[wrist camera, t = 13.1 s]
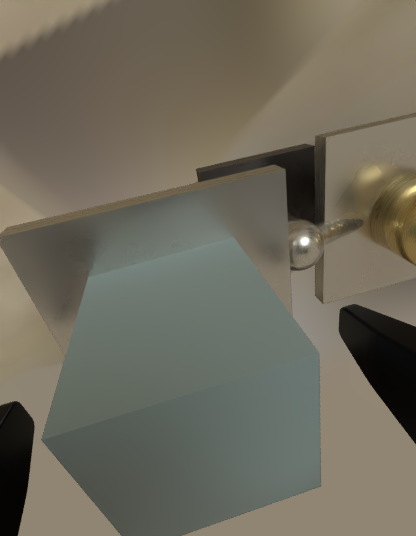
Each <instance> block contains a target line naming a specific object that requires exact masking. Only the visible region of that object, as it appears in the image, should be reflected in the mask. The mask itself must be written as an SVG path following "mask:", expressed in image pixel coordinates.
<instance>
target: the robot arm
mask: <svg viewBox="0 0 416 536" xmlns="http://www.w3.org/2000/svg"><path fill="white" fill-rule="evenodd" d="M339 333H340V335H341V338H342V339H343V341H344V343H345V344H346V346H347V347H348V349H349V351H350V352H351V354H352V356H353V357H354V359H355V360H356V362H357V364H358V365H359V367H360V369H361V370H362V372H363V374H364V375H365V377H366V378H367V380H368V381H369V383H370V384H371V385H372V387H373V389H374V390H375V391H376V393H377V394H378V395H379V397H380V398H381V399H382V400H383V402H384V403H385V404H386V406H387V407H388V408H389V410H390V411H391V412H392V414H393V415H394V416H395V418H396V419H397V420H398V422H399V423H400V424H401V425H402V427H403V428H404V429H405V431H406V432H407V433H408V435H409V436H410V437H411V439H412V440H413V441H414V443H415V444H416V327H415V326H412V325H410V324H407V323H404V322H402V321H399V320H396V319H394V318H391V317H389V316H386V315H383V314H381V313H378V312H375V311H372V310H370V309H367V308H364V307H362V306H359V305H356V304H352V305H349V306H345V307H343V308H341V309H340V316H339ZM33 437H34V421H33V419H32V417H31V416H30V415H29V414H28V412H27V411H26V410H25V409H24V407H23V406H22V405H21V404H20V403H19V402H17V401H14V402H10V403H7V404H3V405H1V406H0V536H18V532H19V527H20V523H21V518H22V513H23V508H24V504H25V499H26V494H27V488H28V480H29V472H30V463H31V453H32V445H33Z"/></svg>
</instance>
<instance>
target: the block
mask: <svg viewBox="0 0 416 536" xmlns="http://www.w3.org/2000/svg"><path fill="white" fill-rule="evenodd" d="M319 369H320V368H319V352H318V350H317V349H316V348H315V346H314V345H313V344H312V342H311V341H310V340H309V338H308V337H307V336H306V334H305V333H304V332H303V330H302V329H301V328H300V326H299V325H298V323H297V322H296V321H295V320H294V318H293V317H292V315H291V314H290V313H289V311H288V310H287V309H286V307H285V306H284V304H283V303H282V302H281V300H280V299H279V298H278V296H277V295H276V294H275V292H274V291H273V290H272V288H271V287H270V286H269V284H268V283H267V281H266V280H265V279H264V277H263V276H262V275H261V273H260V272H259V271H258V269H257V268H256V267H255V265H254V264H253V263H252V261H251V260H250V258H249V257H248V256H247V254H246V253H245V252H244V250H243V249H242V248H241V246H240V245H239V244H238V242H237V241H236V240H235V238H230V239H227V240H223V241H219V242H216V243H212V244H208V245H205V246H201V247H197V248H194V249H190V250H186V251H183V252H179V253H175V254H172V255H168V256H164V257H161V258H157V259H153V260H150V261H146V262H142V263H139V264H135V265H131V266H128V267H124V268H120V269H117V270H113V271H109V272H106V273H102V274H98V275H95V276H91V277H88V280H87V283H86V287H85V290H84V293H83V297H82V300H81V304H80V307H79V311H78V314H77V318H76V321H75V325H74V328H73V332H72V335H71V339H70V342H69V346H68V349H67V353H66V356H65V359H64V363H63V366H62V370H61V373H60V377H59V380H58V384H57V387H56V391H55V394H54V398H53V401H52V405H51V408H50V412H49V415H48V418H47V422H46V425H45V429H44V432H43V436H42V439H41V440H42V441H43V443H44V444H45V445H46V446H47V447H48V449H49V450H50V451H51V452H52V453H53V454H54V456H55V457H56V458H57V459H58V461H59V462H60V463H61V464H62V465H63V466H64V468H65V469H66V470H67V471H68V472H69V474H70V475H71V476H72V477H73V478H74V480H75V481H76V482H77V483H78V484H79V485H80V487H81V488H82V489H83V490H84V491H85V493H86V494H87V495H88V496H89V497H90V499H91V500H92V501H93V502H94V503H95V504H96V506H97V507H98V508H99V509H100V511H101V512H102V513H103V514H104V515H105V516H106V518H107V519H108V520H109V521H110V522H111V524H112V525H113V526H114V527H115V528H116V530H118V532H119V533H120V534H121V535H122V536H181V535H184V534H187V533H190V532H193V531H196V530H199V529H201V528H204V527H207V526H210V525H213V524H216V523H218V522H221V521H224V520H227V519H230V518H233V517H236V516H238V515H241V514H244V513H247V512H250V511H252V510H255V509H258V508H261V507H264V506H267V505H269V504H272V503H275V502H278V501H281V500H284V499H286V498H289V497H292V496H295V495H298V494H301V493H304V492H306V491H309V490H312V489H315V488H318V487H321V452H320V451H321V450H320V449H321V448H320V370H319Z"/></svg>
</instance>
